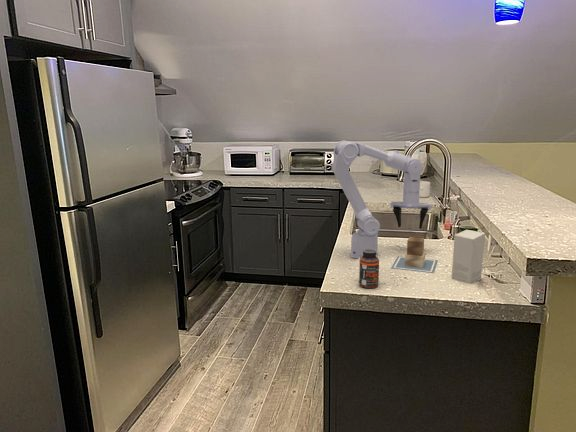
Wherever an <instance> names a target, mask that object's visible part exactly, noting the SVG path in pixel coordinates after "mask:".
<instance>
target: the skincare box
mask: <svg viewBox="0 0 576 432" xmlns="http://www.w3.org/2000/svg"><path fill="white" fill-rule="evenodd" d="M485 237H486V233H485V232H483V231H482V232H481V231H477V230H470V229H465V230H463V231H460V232H458V233H456V234H454V238H453V239H454V241H453V251H452V267H451V280H455V281H459V282H463V283H466V284H472V283H475V282H479V281H480V280H482V275H483V274H482V271H483V261H484V260H483V259H484V250H485V239H486V238H485Z"/></svg>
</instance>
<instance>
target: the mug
mask: <svg viewBox="0 0 576 432" xmlns="http://www.w3.org/2000/svg"><path fill="white" fill-rule="evenodd" d="M430 194H431V182H430V181H425V180H424V181H423V180H420V191H419V199H420V198H422V199H423V198H424V199H425V198H428V197H430Z"/></svg>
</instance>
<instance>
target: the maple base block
mask: <svg viewBox="0 0 576 432" xmlns="http://www.w3.org/2000/svg"><path fill="white" fill-rule="evenodd" d="M404 257H405V266H410V267H419V268H423V266H424V263H425V259H426V251H424V252H423V255H422V256H415V255H407V251H406V252H405V254H404Z"/></svg>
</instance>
